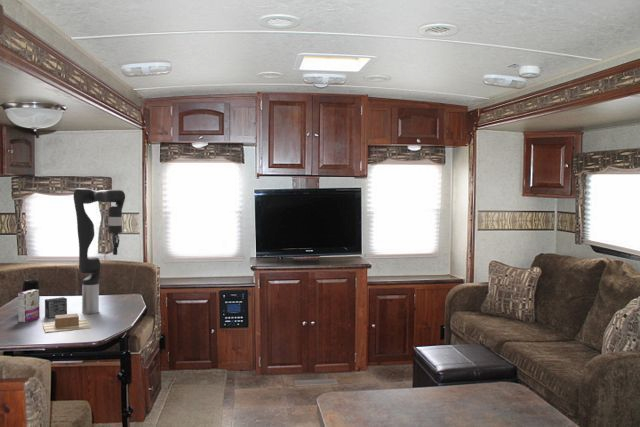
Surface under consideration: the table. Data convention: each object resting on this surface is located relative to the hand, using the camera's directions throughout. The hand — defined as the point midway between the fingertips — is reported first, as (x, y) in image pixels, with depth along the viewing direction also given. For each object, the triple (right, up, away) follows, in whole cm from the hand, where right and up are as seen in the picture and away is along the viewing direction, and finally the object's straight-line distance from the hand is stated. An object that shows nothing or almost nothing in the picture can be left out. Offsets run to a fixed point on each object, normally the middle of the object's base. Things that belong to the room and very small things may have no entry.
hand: (115, 254), depth 308 cm
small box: (-35, -37, +3) cm, 51 cm away
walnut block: (-14, -34, -16) cm, 40 cm away
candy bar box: (-46, -37, -7) cm, 59 cm away
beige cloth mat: (-19, -37, -19) cm, 46 cm away
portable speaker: (-56, -36, +14) cm, 68 cm away
